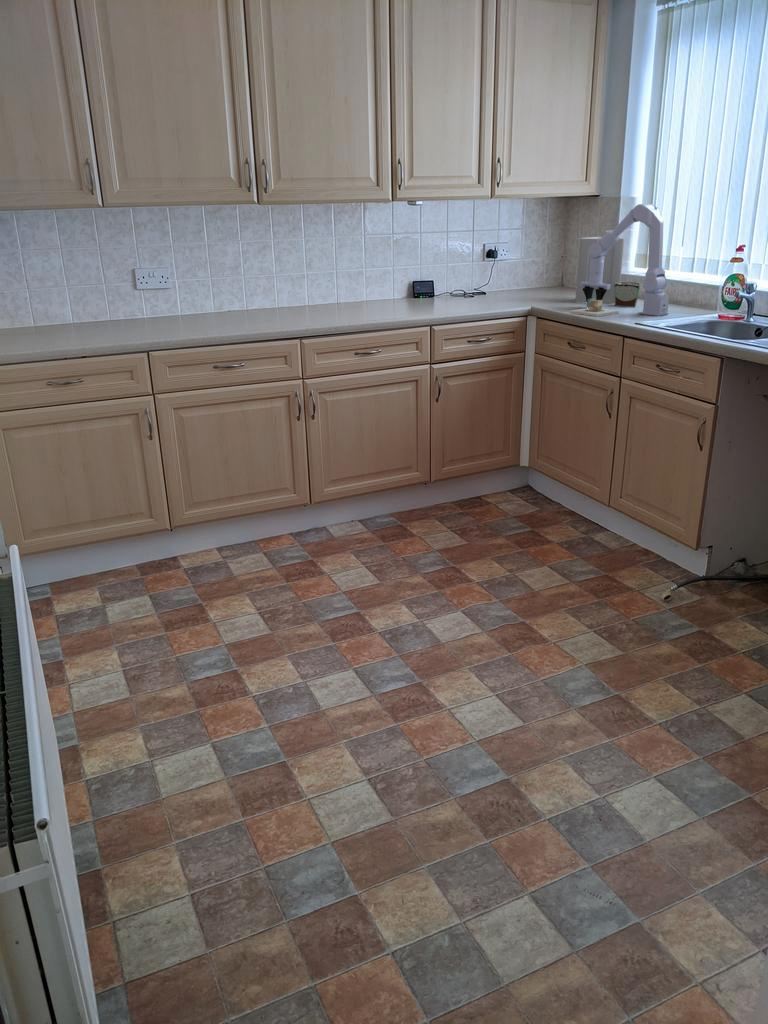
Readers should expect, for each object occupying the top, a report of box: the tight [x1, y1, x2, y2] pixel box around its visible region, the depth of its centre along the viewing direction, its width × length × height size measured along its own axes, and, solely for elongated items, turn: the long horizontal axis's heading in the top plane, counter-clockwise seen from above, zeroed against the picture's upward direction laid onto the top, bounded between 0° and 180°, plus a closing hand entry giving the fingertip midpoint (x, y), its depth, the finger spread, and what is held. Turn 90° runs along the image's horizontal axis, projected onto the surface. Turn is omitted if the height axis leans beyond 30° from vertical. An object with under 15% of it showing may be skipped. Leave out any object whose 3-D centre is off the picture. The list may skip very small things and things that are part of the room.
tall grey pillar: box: [574, 236, 625, 304], centre depth 383 cm, size 19×15×28 cm
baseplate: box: [570, 307, 620, 317], centre depth 352 cm, size 14×14×1 cm
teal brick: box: [586, 298, 596, 308], centre depth 366 cm, size 4×4×4 cm
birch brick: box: [589, 300, 603, 311], centre depth 351 cm, size 4×4×4 cm
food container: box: [614, 281, 642, 308], centre depth 371 cm, size 12×6×10 cm, turn 51°
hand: (593, 304), depth 366 cm, fingers open, 4 cm apart
